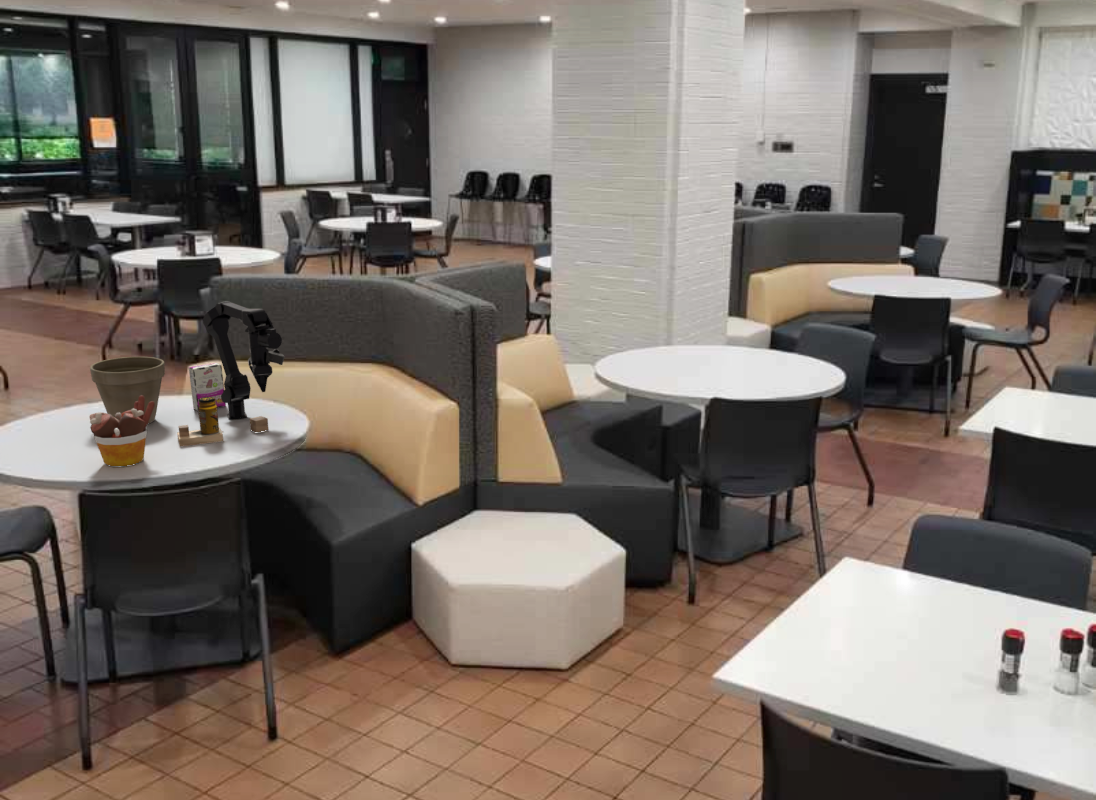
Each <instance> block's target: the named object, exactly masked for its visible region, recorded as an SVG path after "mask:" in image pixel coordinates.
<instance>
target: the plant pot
mask: <svg viewBox="0 0 1096 800" xmlns="http://www.w3.org/2000/svg"><path fill="white" fill-rule="evenodd" d="M89 370H90V376H91V381H92V382H93V383H95V385H96V389H97V391H98V393H99V396H100V398H101V400H102V403H103V406H104V408H105V409H104V410H105V411H106V413H107V414H111V415H112V416H113V417H115V414H116V413H119V412H120V414H121V413H123V412H125V411H128V410H132V409H134V403H135V402H136V401H138V398H139V396H141V395H142V396H144V397H145V409H144V414H145V411H146V409H147V406H148V403H149V402H151V401H153V402H154V403H155V407H154V409H153V412H152V414H151V417H150V420H149V422H148V423H149V424H151V423H153V422H154V421H155V420H156V416H157V411H158V405H159V400H160V399H159V398H160V393H161V386H162V379H163V377H164V376H165V375H166V373H165V372H166V371H165V361H164V360H163V359H162V358H157V357H153V356H125V357H115V358H110V359H108V358H107V359H105V360H100V361H97V362H95V363H92V364H90V366H89ZM115 418H116V417H115ZM116 419H117V420H119V419H118V418H116ZM119 421H120V420H119Z"/></svg>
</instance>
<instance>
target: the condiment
mask: <svg viewBox="0 0 1096 800" xmlns="http://www.w3.org/2000/svg"><path fill="white" fill-rule="evenodd" d="M197 412H198V417H199V418H198V419H199V430H200V431H197V432H191V433H192V434H194V435H196V436H198V437H205V436H209V435H214V434H219V433H222V434H223V433H224V431H222V430H221V431H220V430H219V428H220V426H219V424H220V423H219V415H218V413H219V412H218V408H217V406H216V404H215V398H214V397H202V398H200V399H199V407H198V411H197Z"/></svg>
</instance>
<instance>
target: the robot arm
mask: <svg viewBox="0 0 1096 800" xmlns="http://www.w3.org/2000/svg"><path fill="white" fill-rule="evenodd" d="M232 318H234V319H237V320H240V321H241V322H242V324H243V326H246V328H245V329H244V332H245V333H248V344H249V348H248V350H249V353H250V355H249V356H250V357H249V358H248V359H247V364H248V367H249V369H250V372H251V374H252V376H253V377H254V379H255V381H256V383H257V385H258V387H259V389H260V391H261V393H266V389H267V385H268V384H267V383H268V378H269V377H270V376H271V375H272V374H273V367H272V365H270V364H271V363H274V364H278V365H279V366H283V363H284V359H285V357H286V356H285V355H284V354H283V353H280V350H279V348H280V347H281V345H282V342H283V337H282V335H280V333H278V332H277V329H276V328H274V325H273V322H272V321H271V319H270V317H269V315H268V313H267V312H266V310H265V309H263V308H248V307H245V306H242V305H240V304H236V303H234V302H232V301H229V300H225V301H219V302H218V303H216V305H214V307H212V308H211V309H209V310H208V311H207V312H206V313H205V314H204V315H203V318H202V323H203V325H204V327H205V329H206V332H207V333H208V334H209V335H210V336H212V338H213V339H214V343H215V345H216V348H217V352H218V355H219V358H220V361H221V366H222V369H223V371H224V374H225V379H224V381H223V384H224V392H223V393H222V395H221V399H222V402H225V403H226V404H227V411H228V413H227V414H226V417H227V418H228V420H236V419H238V420H239V419H246V418H248V415H247V413H246V409H245V400H249V399H250V395H251V384H250V382H249V379H248V375H247V374H243V373H241V371H240V368H239V365H238V362H237V359H236V356H235V353H234V349H233V347H232V344H231V341H230V337H229V330H230V320H231V319H232ZM270 349H271V350H270Z"/></svg>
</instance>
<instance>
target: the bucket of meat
mask: <svg viewBox="0 0 1096 800" xmlns="http://www.w3.org/2000/svg"><path fill="white" fill-rule="evenodd" d="M154 407H155V403H154V402H153V401H151V402H149V403H148V406H147V409H146V411H145V414H144V409H145V397H144V396H142V395H141V396H139V398H138V401H136V402H135V403H134V409H132V410H128V411H125V412H123V413H121V414H120V412H119V413H116V414H115V417H116V418H118V419H119V420H120V421H119V420H117V419H116V418H115V417H113V416H112V415H111V414H107V412H101V411H98V412H94V413H91V414H89V424H91V425H90V427H89V428H90V432H91V433H92V434H93V439H94V440H95V442H96V443H95V444H96V445H97V448H98V451H99V453H100V455H101V458H102V460H103V463H104V464H105V465H106V464H107V466H108V465H110V466H109V467H111V466H126V467H128V466H127V465H132V466H134V465H133V464H135V465H137V464H136V463H138V464H139V462H140V463H142V461H143V460H144V459H145V450H146V441H147V433H148V429H147V426H148V425H149V424H148V422H149V420H150V417H151V414H152V412H153V409H154Z"/></svg>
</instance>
